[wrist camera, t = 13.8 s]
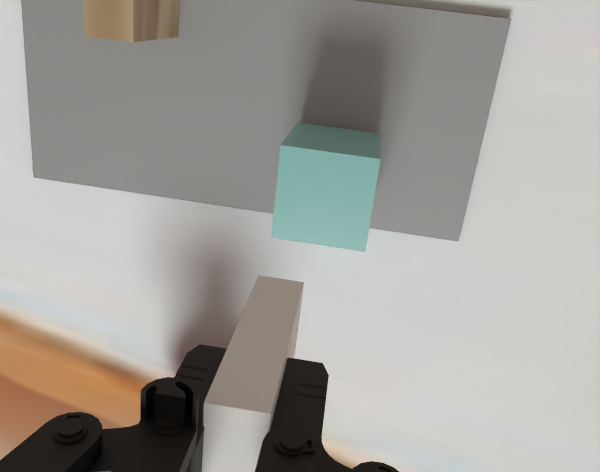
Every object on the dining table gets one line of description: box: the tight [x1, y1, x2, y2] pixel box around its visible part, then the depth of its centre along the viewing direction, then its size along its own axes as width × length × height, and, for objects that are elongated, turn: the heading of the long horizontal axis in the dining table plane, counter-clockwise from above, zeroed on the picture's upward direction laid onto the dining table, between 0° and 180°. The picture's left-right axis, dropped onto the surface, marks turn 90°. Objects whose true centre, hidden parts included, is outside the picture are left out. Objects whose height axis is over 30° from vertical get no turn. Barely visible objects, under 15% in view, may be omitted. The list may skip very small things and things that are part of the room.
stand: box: [21, 0, 511, 241], centre depth 37 cm, size 30×14×1 cm, turn 84°
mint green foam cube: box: [271, 122, 381, 252], centre depth 33 cm, size 5×5×7 cm
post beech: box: [84, 0, 179, 42], centre depth 32 cm, size 3×3×7 cm
